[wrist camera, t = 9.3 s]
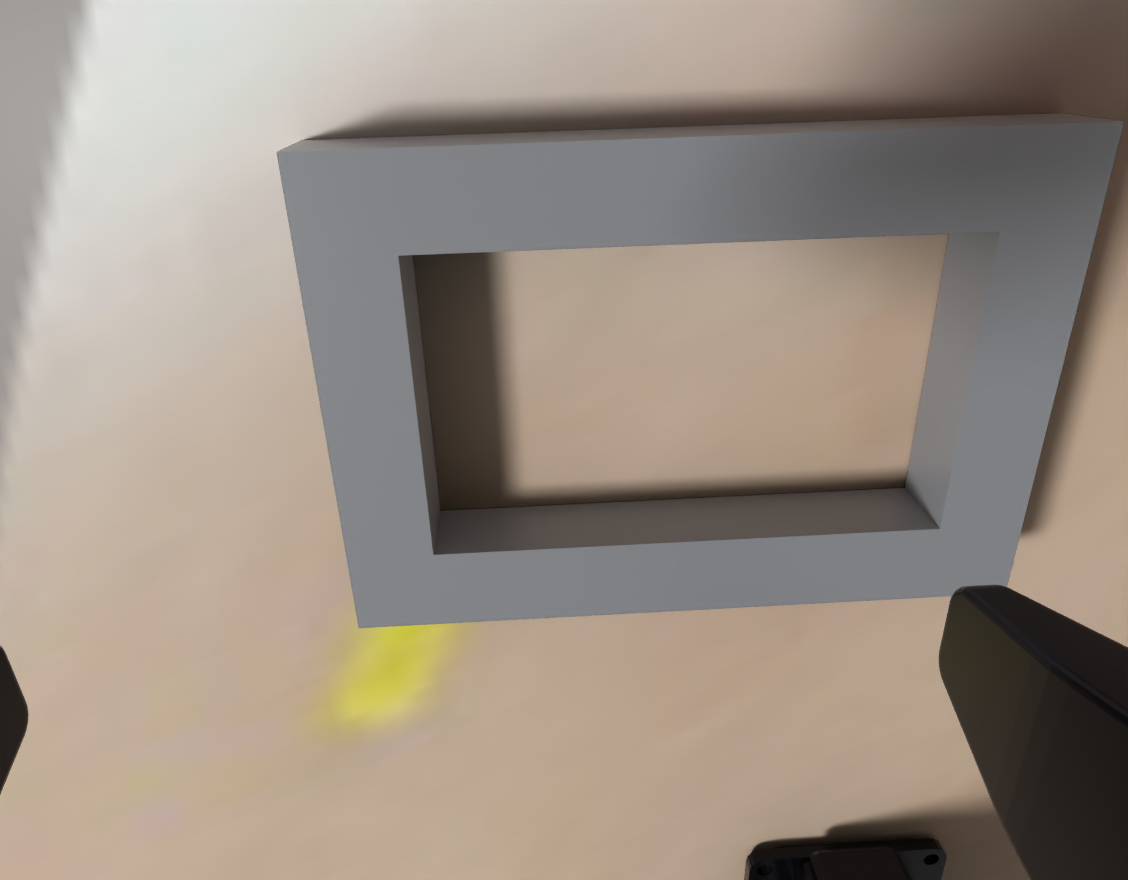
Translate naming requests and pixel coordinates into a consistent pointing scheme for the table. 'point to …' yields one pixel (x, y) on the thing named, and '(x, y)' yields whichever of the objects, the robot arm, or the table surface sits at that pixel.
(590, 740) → the table surface
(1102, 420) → the table surface
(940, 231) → the block
